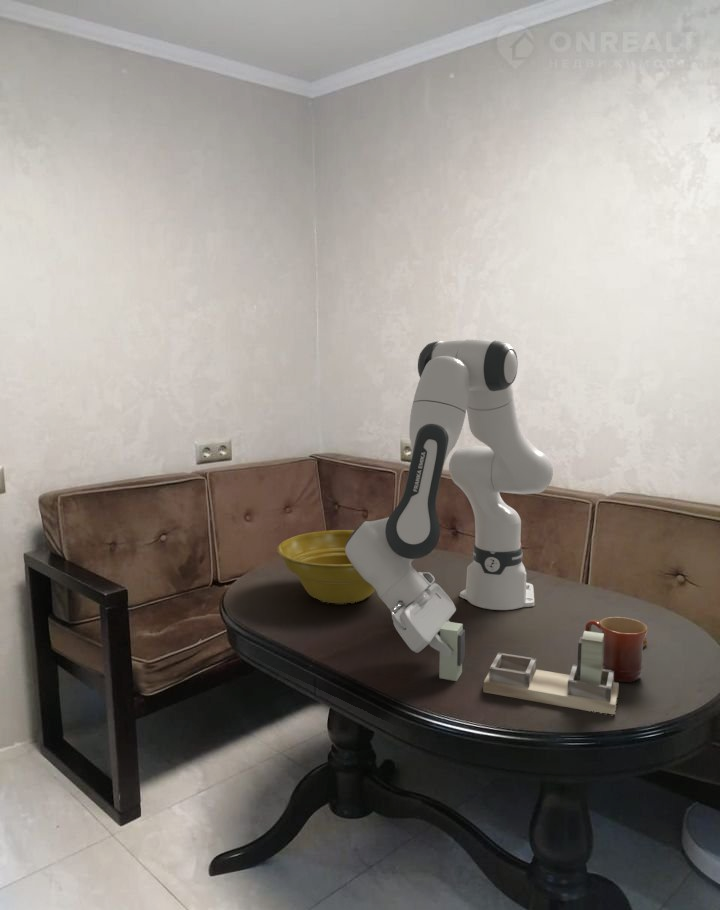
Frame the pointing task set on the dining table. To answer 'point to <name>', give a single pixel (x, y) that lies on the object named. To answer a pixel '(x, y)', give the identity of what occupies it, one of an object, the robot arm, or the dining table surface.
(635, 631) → the mug
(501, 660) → the cream peg holder
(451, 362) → the robot arm
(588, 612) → the dining table surface
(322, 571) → the planter bowl
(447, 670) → the block
